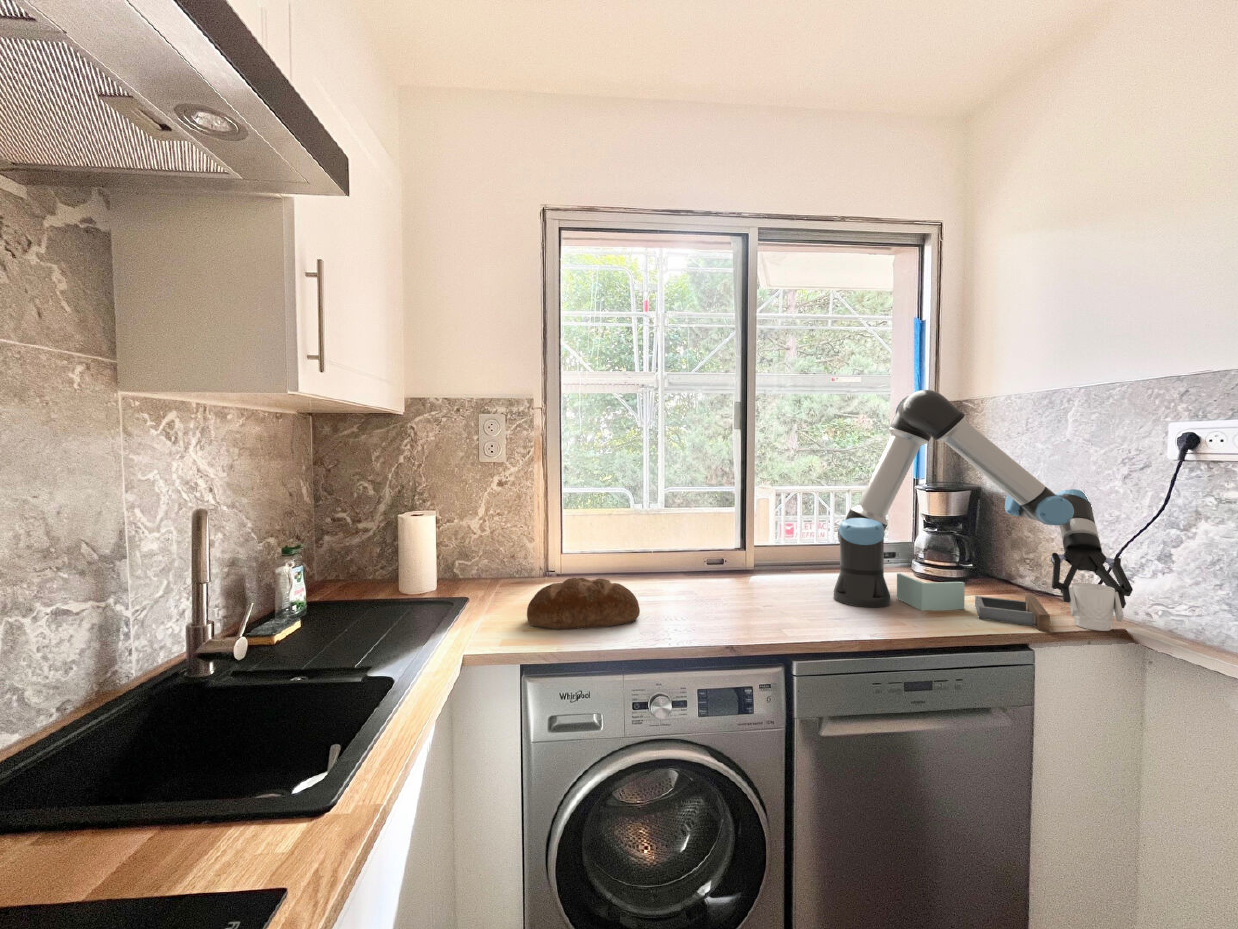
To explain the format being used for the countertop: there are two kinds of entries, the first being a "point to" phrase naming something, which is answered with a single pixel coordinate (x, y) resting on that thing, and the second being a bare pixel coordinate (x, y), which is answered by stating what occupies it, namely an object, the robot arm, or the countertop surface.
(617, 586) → the bread
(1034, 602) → the brown drawer face panel
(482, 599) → the countertop surface
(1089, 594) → the white cup
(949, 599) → the right angle wall
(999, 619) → the gray square tray
